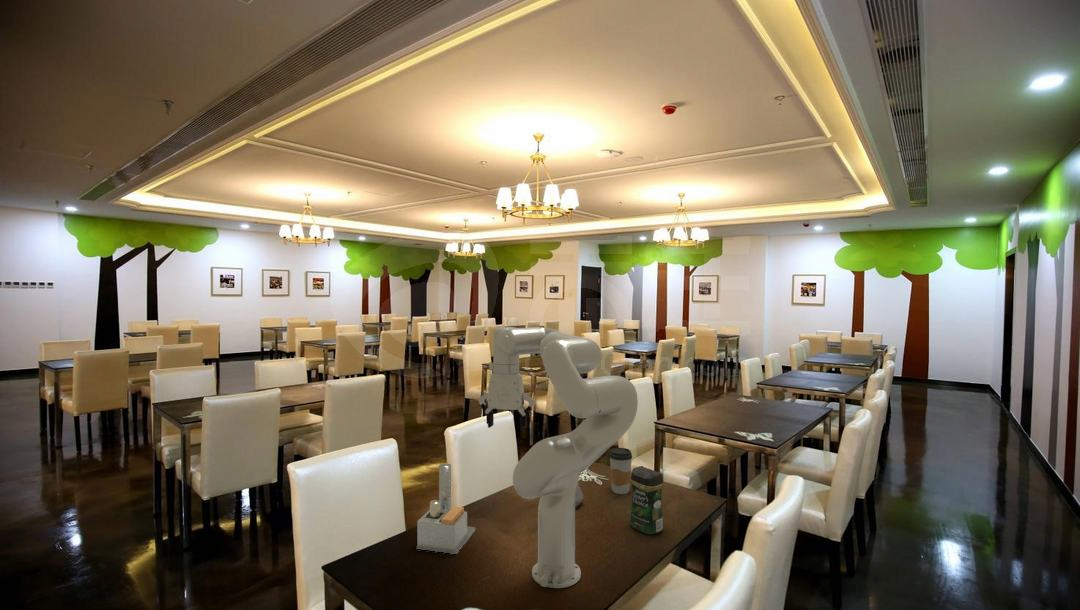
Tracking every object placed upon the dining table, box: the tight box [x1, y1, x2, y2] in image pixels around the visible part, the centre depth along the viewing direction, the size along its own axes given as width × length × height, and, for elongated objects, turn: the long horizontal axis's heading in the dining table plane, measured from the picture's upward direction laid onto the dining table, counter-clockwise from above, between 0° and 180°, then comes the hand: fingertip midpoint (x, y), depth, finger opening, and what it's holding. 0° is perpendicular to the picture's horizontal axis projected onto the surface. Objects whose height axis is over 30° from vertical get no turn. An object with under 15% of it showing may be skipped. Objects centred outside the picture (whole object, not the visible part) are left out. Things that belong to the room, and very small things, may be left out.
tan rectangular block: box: [441, 505, 465, 525], centre depth 147 cm, size 9×3×8 cm, turn 167°
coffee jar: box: [630, 465, 664, 535], centre depth 157 cm, size 10×8×19 cm
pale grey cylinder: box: [429, 499, 440, 519], centre depth 148 cm, size 3×3×8 cm
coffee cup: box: [608, 447, 633, 495], centre depth 187 cm, size 8×8×15 cm
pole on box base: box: [416, 463, 476, 555], centre depth 150 cm, size 15×12×20 cm
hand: (506, 427), depth 149 cm, fingers open, 9 cm apart
